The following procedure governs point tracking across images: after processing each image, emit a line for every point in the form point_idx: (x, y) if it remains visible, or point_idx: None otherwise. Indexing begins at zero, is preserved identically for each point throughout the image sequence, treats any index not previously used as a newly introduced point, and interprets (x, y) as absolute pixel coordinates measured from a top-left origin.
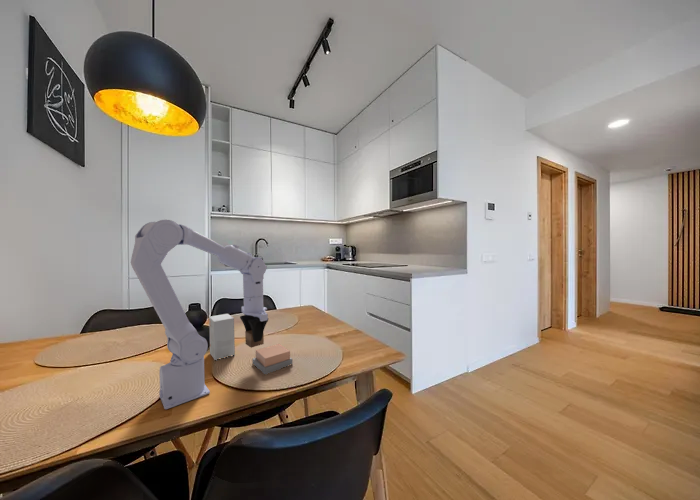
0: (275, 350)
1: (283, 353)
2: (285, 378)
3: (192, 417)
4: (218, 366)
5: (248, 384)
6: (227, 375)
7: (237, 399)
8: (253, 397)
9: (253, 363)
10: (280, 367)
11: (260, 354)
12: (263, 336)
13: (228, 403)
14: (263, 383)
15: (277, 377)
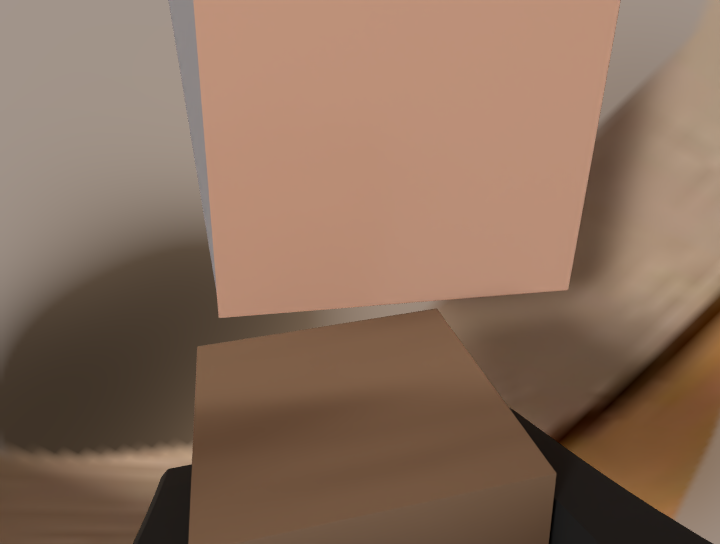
0: (444, 81)
1: (613, 23)
2: (710, 116)
3: None
4: (59, 536)
5: (554, 381)
6: None
7: (655, 459)
8: (714, 385)
9: None
10: None
11: (416, 301)
12: (494, 389)
13: (649, 499)
14: (628, 292)
15: (641, 167)
